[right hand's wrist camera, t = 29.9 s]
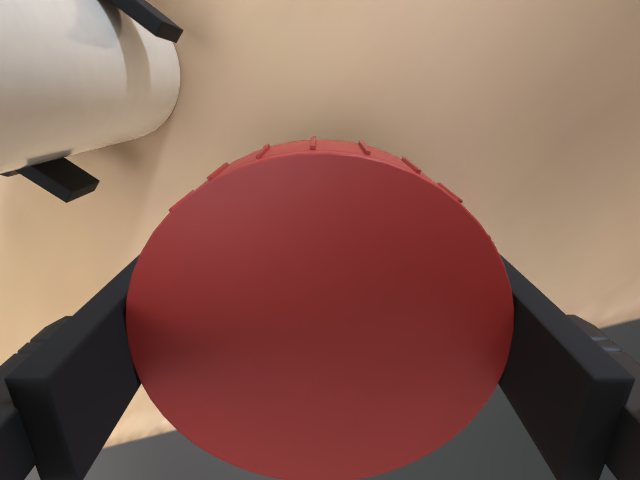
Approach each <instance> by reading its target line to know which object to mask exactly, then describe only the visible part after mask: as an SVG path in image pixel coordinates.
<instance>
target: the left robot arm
mask: <svg viewBox="0 0 640 480" xmlns="http://www.w3.org/2000/svg"><path fill="white" fill-rule="evenodd" d="M108 1H110V2H111V3H112V4H114V5H115V6H116V7H118V8H119V9H120V10H121V11H123V12H124V13H125V14H127V15H128V16H129V17H131V18H132V19H133V20H135V21H136V22H137V23H139V24H140V25H141V26H142V27H144V28H145V29H146V30H148V31H149V32H150V33H152V34H153V35H154V36H156V37H159V38H162V39H165V40H168V41H171V42H175V43H177V41H178V39H179V37H180V36H181V34H182V32H183V29H181V28H180V27H179V26H177V25H176V24H175V23H174V22H172V21H171V20H170V19H168V18H167V17H166V16H165V15H163V14H162V13H161V12H159V11H158V10H157V9H156V8H154V7H153V6H152V5H150V4H149V3H148V2H147V1H145V0H108ZM16 174H21V175H23V176H25V177H26V178H28V179H29V180H31V181H33V182H34V183H36V184H37V185H39V186H40V187H42V188H44V189H45V190H47V191H48V192H50V193H52V194H53V195H55V196H56V197H58V198H60V199H61V200H63V201H64V202H66V203H67V202H70V201H72V200H74V199H76V198H79V197H81V196H83V195H86V194H88V193H90V192H92V191H94V190H95V189H96V187H97V185H98V183H99V180H98V179H96V178H95V177H93V176H92V175H90V174H88V173H87V172H85V171H84V170H82V169H81V168H79V167H78V166H76V165H75V164H73V163H72V162H70V161H69V160H67V159H65V158H64V157H63V158H59V159H55V160H51V161H47V162H44V163H40V164H36V165H32V166H28V167H24V168H20V169H16V170H13V171H9V172H5V173H1V174H0V175H3V176H7V177H9V176H13V175H16Z"/></svg>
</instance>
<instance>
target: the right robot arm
mask: <svg viewBox="0 0 640 480" xmlns="http://www.w3.org/2000/svg"><path fill="white" fill-rule="evenodd" d="M499 255H500V254H499ZM139 256H140V255H139ZM139 256H137V257H136V258H135V259H134V260H133V261H132V262H131V263H130V264H129V265H128V266H127V267H125V268H124V269H123V270H122V271H121V272H120V273H119V274H118V275H117V276H116V277H115V278H113V279H112V280H111V281H110V282H109V283H108V284H107V285H106V286H105V287H104V288H103V289H101V290H100V291H99V292H98V293H97V294H96V295H95V296H94V297H93V298H92V299H90V300H89V301H88V302H87V303H86V304H85V305H84V306H83V307H82V308H81V309H80V310H78V311H77V312H76V313H75V314H74V315H73V316H65V317H63V318H61V319H59V320H58V321H56V322H54V323H52V324H50V325H48V326H46V327H45V328H44V329H43V330H41V331H40V332H39V333H38V334H37V335H36V336H34V337H33V338H32V339H31V340H30V343H26V344H25V345H24V346H23V347H22V348H21V349H19V350H18V353H17V354H14V355H13V356H11V357H10V358H9V359H8V360H7V361H6V362H4V363H3V364H2V365H1V366H0V480H24V479H25V478H26V476H27V475H28V474H29V472H30V471H31V470H32V468H33V467H34V466H35V465H36V468H37V471H38V474H39V476H40V479H41V480H83V479H84V477H85V476H86V474H87V472H88V471H89V469H90V467H91V466H92V464H93V462H94V461H95V459H96V457H97V456H98V454H99V453H100V451H101V449H102V448H103V446H104V444H105V443H106V441H107V439H108V438H109V436H110V434H111V433H112V431H113V429H114V428H115V426H116V424H117V423H118V421H119V420H120V418H121V416H122V415H123V413H124V411H125V410H126V408H127V406H128V405H129V403H130V401H131V400H132V398H133V396H134V395H135V393H136V392H137V390H138V388H139V387H140V385H141V382H140V379H139V377H138V374H137V372H136V370H135V367H134V365H133V362H132V357H131V352H130V348H129V343H128V338H127V332H126V321H125V317H126V303H127V294H128V290H129V285H130V281H131V277H132V273H133V271H134V268H135V266H136V263H137V261H138V259H139ZM500 257H501V259H502V261H503V263H504V266H505V269H506V272H507V275H508V279H509V282H510V285H511V290H512V298H513V305H514V331H513V336H512V341H511V346H510V351H509V355H508V359H507V363H506V366H505V369H504V372H503V374H502V376H501V378H500V380H499V382H498V384H499V385H500V387H501V389H502V390H503V392H504V394H505V395H506V397H507V399H508V400H509V402H510V403H511V405H512V407H513V408H514V410H515V412H516V413H517V415H518V417H519V418H520V420H521V422H522V423H523V425H524V427H525V428H526V430H527V431H528V433H529V435H530V436H531V438H532V440H533V441H534V443H535V445H536V446H537V448H538V450H539V451H540V453H541V455H542V456H543V458H544V460H545V461H546V463H547V464H548V466H549V468H550V469H551V471H552V473H553V474H554V476H555V478H556V479H557V480H599V478H600V476H601V473H602V470H603V467H604V465H605V464H606V465H607V467H608V468H609V469H610V471H611V472H612V473H613V475H614V476H615V477H616V478H617V480H640V364H639V363H638V362H636V361H635V360H634V359H633V358H632V357H631V356H629V355H628V354H627V353H626V352H622V349H621V348H620V347H619V346H618V345H617V344H615V343H614V342H613V341H610V339H609V338H608V337H607V336H606V335H605V334H604V333H603V332H602V331H600V330H599V329H598V328H597V327H596V326H594V325H593V324H591V323H589V322H587V321H585V320H583V319H581V318H579V317H578V316H576V315H566V314H565V313H563V312H562V311H561V310H560V309H559V308H558V307H557V306H556V305H555V304H554V303H553V302H551V301H550V300H549V299H548V298H547V297H546V296H545V295H544V294H543V293H542V292H540V291H539V290H538V289H537V288H536V287H535V286H534V285H533V284H532V283H531V282H530V281H528V280H527V279H526V278H525V277H524V276H523V275H522V274H521V273H520V272H519V271H518V270H516V269H515V268H514V267H513V266H512V265H511V264H510V263H509V262H508V261H507V260H506V259H504V258H503V257H502V256H501V255H500Z"/></svg>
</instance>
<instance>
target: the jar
mask: <svg viewBox="0 0 640 480" xmlns="http://www.w3.org/2000/svg"><path fill="white" fill-rule="evenodd" d="M179 90H180V65H179V61H178V56H177V53H176V50H175V47H174V44H173V42H171V41H168V40H165V39H162V38H159V37H156V36H154V35H153V34H152V33H150V32H149V31H148V30H146V29H145V28H144V27H142V26H141V25H140V24H139V23H137V22H136V21H135V20H133V19H132V18H131V17H129V16H128V15H127V14H125V13H124V12H123V11H121V10H120V9H119V8H118V7H116V6H115V5H114V4H112V3H111V2H110V1H108V0H0V174H1V173H5V172H9V171H13V170H16V169H20V168H24V167H28V166H32V165H36V164H40V163H44V162H47V161H51V160H55V159H59V158H63V157H67V156H71V155H75V154H78V153H82V152H86V151H90V150H94V149H98V148H102V147H106V146H109V145H113V144H117V143H121V142H125V141H129V140H133V139H137V138H140V137H143V136H146V135H148V134H150V133H152V132H153V131H155V130H157V129H158V128H159V127H160V126H161V125H162V124H163V123H164V122H165V121H166V120H167V119H168V117H169V116H170V114H171V113H172V111H173V109H174V107H175V105H176V102H177V99H178V95H179Z"/></svg>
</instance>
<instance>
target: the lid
mask: <svg viewBox="0 0 640 480" xmlns="http://www.w3.org/2000/svg"><path fill="white" fill-rule="evenodd" d="M207 179H208V180H207V181H206V182H205V183H203V184H202V185H201V186H200V187H199V188H197V189H196V190H195V191H194V190H192V191H191V192H190V193H189V194H187V195H186V196H185V197H184V198H182V199H181V200H180V201H179V202H177V203H176V204H175V205H174V206H172V207H171V208H170V209H169V211H170V213H169V214H168V215H167V216H166V217H165V219H164V220H163V221H162V222H161V223H160V225H159V226H158V227H157V228H156V229H155V231H154V232H153V233H152V235H151V237H150V238H149V240H148V242H147V243H146V245H145V247H144V248H143V250H142V252H141V254H140V256H139V259H138V261H137V263H136V266H135V268H134V271H133V273H132V277H131V281H130V285H129V290H128V294H127V303H126V317H125V321H126V332H127V338H128V343H129V348H130V352H131V357H132V362H133V365H134V367H135V370H136V372H137V374H138V377H139V379H140V382H141V383H142V385H143V387H144V389H145V390H146V392H147V394H148V395H149V397H150V399H151V400H152V402H153V403H154V404H155V406H156V407H157V408H158V409H159V411H160V412H161V413H162V415H163V416H164V417H165V418H166V419H167V420H168V421H169V422H170V423H171V424H172V425H173V426H174V427H175V428H176V429H177V430H178V431H179V432H180V433H181V434H183V435H184V436H185V437H187V438H188V439H189V440H190V441H191V442H193V443H194V444H195V445H197V446H199V447H200V448H202V449H203V450H205V451H206V452H208V453H210V454H211V455H213V456H215V457H217V458H219V459H221V460H223V461H225V462H227V463H229V464H231V465H234V466H236V467H239V468H242V469H244V470H247V471H250V472H253V473H256V474H260V475H264V476H268V477H272V478H277V479H283V480H357V479H362V478H367V477H371V476H376V475H380V474H383V473H386V472H389V471H392V470H396V469H398V468H401V467H403V466H405V465H408V464H410V463H412V462H415V461H417V460H419V459H421V458H423V457H424V456H426V455H428V454H430V453H432V452H433V451H435V450H437V449H438V448H439V447H441V446H442V445H444V444H445V443H447V442H448V441H449V440H451V439H452V438H453V437H455V436H456V435H457V434H458V433H459V432H460V431H461V430H462V429H464V428H465V427H466V426H467V425H468V424H469V423H470V422H471V421H472V419H473V418H474V417H475V416H476V415H477V414H478V413H479V411H480V410H481V409H482V408H483V407H484V405H485V404H486V402H487V401H488V399H489V398H490V396H491V395H492V393H493V392H494V390H495V388H496V386H497V384H498V382H499V380H500V378H501V376H502V374H503V372H504V369H505V366H506V363H507V359H508V355H509V351H510V346H511V341H512V336H513V331H514V305H513V298H512V290H511V285H510V282H509V279H508V275H507V272H506V269H505V266H504V263H503V261H502V259H501V257H500V255H499V253H498V251H497V249H496V247H495V245H494V243H493V241H492V240H491V237H490V236H489V235H488V234H487V233H486V231H485V230H484V229H483V227H482V226H481V224H480V223H479V222H478V221H477V220H476V219H475V218H474V217H473V216H472V214H471V213H470V212H469V211H468V210H467V209H466V208H465V207H464V206H463V205H462V204H461V203H462V202H463V201H462V200H461V199H460V198H459V197H457V196H456V195H455V194H453V193H452V192H451V191H450V190H448V189H447V188H446V187H444V186H443V185H442V184H441V183H438V184H436V183H435V182H434V181H432V180H431V179H430V178H428V177H427V176H426V175H425V174H423V173H422V172H421V170H420V169H419V168H417V167H416V166H415V165H414V164H412V163H411V162H410V161H409V160H407V159H406V158H404V157H402V159H399V158H398V157H396V156H393V155H391V154H388V153H386V152H383V151H381V150H378V149H376V148H373V147H368V146H366V145H365V144H364V143H363V142H362V141H359V144H356V143H352V142H344V141H335V140H316V137H312V139H311V140H302V141H296V142H290V143H284V144H278V145H275V146H272V147H270V145H269V144H267V145H265V146H264V147H263V148H262V149H261V150H259V151H256V152H253V153H251V154H249V155H247V156H245V157H243V158H241V159H238V160H236V161H234V162H233V163H231V164H230V165H228V163H225V164H224V165H222V166H221V167H220V168H218V169H217V170H216V171H215V172H213V173H212V174H211V175H209V176H208V177H207Z"/></svg>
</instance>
